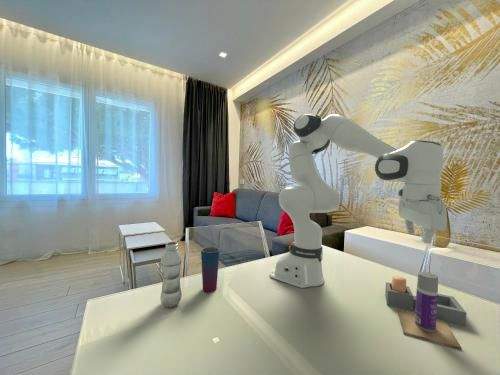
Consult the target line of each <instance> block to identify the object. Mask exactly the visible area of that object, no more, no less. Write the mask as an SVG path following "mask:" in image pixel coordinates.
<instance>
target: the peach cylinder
mask: <svg viewBox="0 0 500 375" xmlns="http://www.w3.org/2000/svg"><path fill="white" fill-rule="evenodd" d="M391 283H392V290H394V291H398V292H403V293H406V286H407V279H406V278H405V277H403V276H399V275H393V276H392V279H391Z"/></svg>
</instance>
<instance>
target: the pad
mask: <svg viewBox="0 0 500 375" xmlns="http://www.w3.org/2000/svg"><path fill="white" fill-rule="evenodd" d="M396 312H397V316H398V319H399V322H400V325H401V329H402V333H403V334H404V335H407V336H410V337H414V338H417V339H421V340H425V341H428V342H432V343H435V344H438V345H443V346H446V347H450V348H452V349H453V348H454V349H457V350H460V351H462V346H461V345H460V343H459V341H458V339H457V337H455V334H454V333H453V331H452V330H451V328H450V327H449V324H448V323H447V321H444V320H440V319H436V330H435V331H434V332H429V331H425V330H423V329H421V328H419V327H418V326H416V324H415V312H412V311H411V312H410V311H406V310H404V309H403V310H401V309H399V308H397V309H396Z"/></svg>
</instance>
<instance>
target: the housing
mask: <svg viewBox="0 0 500 375" xmlns="http://www.w3.org/2000/svg"><path fill="white" fill-rule="evenodd" d="M384 290H385V291H384V296H385V301H386V305H387V306H391V307H393V308H397V309H403V310H405V311H406V310H408V311H409V312H410V311H411V312H413V309H414V310H416V295H414V294H413V292H412V290H411V288H410V286H407V285H406V293H403V292H398V291H394V290H392V282H387V281H386V282H385V289H384ZM415 293H417V291H416V292H415ZM436 319H440V320H444V321H446V323H447V322H448V323H451V324H456V325H460V326H464V327H466V324H467V311H466V310H465V309H464V308H463V306H462V305H461V304H460V303H459V302H458V300H457V299H456V298H455V296H452V295H447V294H443V293H438V299H437V316H436Z"/></svg>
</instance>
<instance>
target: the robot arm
mask: <svg viewBox="0 0 500 375" xmlns="http://www.w3.org/2000/svg"><path fill="white" fill-rule="evenodd" d="M292 126H293V131H294V133H295V134H296V136H297V137H298V138H299V139H298V140H297V141H294V142H293V143H291V144H290V145H289V148H288V165H289V169H290V170H289V171H290V176H291V178H292V180H293V182H295V183H296V184H298V185H292V186H287V187H283V188H282V189H281V191H280V192H279V193H278V194H279V195H278V204H279V207H280V208H281V209H282V210H283V212H285V213H286V214H287V215H288V216H289V218H290V219H291V221H292V223H293V225H292V226H293V230H294V238H293V239H294V241H292V242H291V243H290V244H289V247H288V250H289V251H287V253H284V254H283V255H282V256H281V257H279V258H278V260H277V262H276V263H275V266H274V267H273V268H272V269H271V270H270V272H269V276H270V278H272V279H274V280H277V281H281V282H283V283H285V284H289V285H292V286H295V287H297V288H301V289H306V288H311V287H318V286H321V285H323V284H324V283H325V276H324V274H323V273H324V272H323V266H322V265H323V264H322V261H323V258H324V257H323V254H324V253H323V251H324V250H323V246H322V239H323V230H322V227H321V226H320V224H319V223H317V222H315V221H314V220H312V219H311V218H310V214H312V213H313V214H316V213H319V214H322V213H323V214H326V213H330V212H335V211H336V210H338V209H339V206H340V204H341V195H340V193H339V191H338V190H337V189H335V188H334V187H332V186H330V185H329V183H327V182H326V181H324V179H323V178H322V177H321V176H320V174H319V172H318V170H317V166H316V164H315V161H314V160H315V159H314V155H316V154H318V153H321V152H323V151H325V150H326V149H327V148H328V147H329V145H330V143H331V142H332V143H333V144H334V145H336V146H338V148H341V149H343V150H345V151H348V152H355V153H361V154H367V155H369V156H372V157H374V158H376V159H377V160H376V161H375V164H374V171H375V174H376V176H377V177H378V178H379V179H381V180H383V181H387V182H398V183H399V182H401V183H404V186H403V187H402V188H401V189H399V190H398V191H397V196H398V197H399V199H398V215H399V217H400V218H402V219H404V224H405V228H406V229H405V232H406V234H408V235H415V231H416V229H415V228H414V224H416V225H418V226H420V227H422V228H423V231H424V233H423V235H421V242H422V243H424V244H431V243H432V238H433V237H434V235H435V233H436V232H444V231H446V229H447V226H448V224H447V223H448V213H447V206H446V204H444V203H445V202H444V201H443V199H442V197H441V192H442V180H441V175H442V173H443V170H444V149H443V146H442V144H441V143H439V142H436V141H433V140H432V141H430V140H421V139H418V140H417V139H416V140H412V141H410V142H409V143H408V144H407V145H405V146H403V147H401V148H399V149H397V148H395V147H393V146H391V145H390V144H388V143H386V142H384V141H383V140H381V139H378V137H376V136H375V135H373V134H371V133H370V132H369V131H367V129H365V128H363V127H362V125H361V126H360V125H359V124H358V123H356V122H355V121H354V120H351V119H350V118H348V117H345V116H343V115H340V114H336V113H334V114H329V115H328V116H326V117H325V118H324V119H322V118H321V116H320V115H318V114H315V115H313V114H311V113H305V114H302V115H300V116H299V117H297V118H296V120H294V123H293V125H292Z"/></svg>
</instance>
